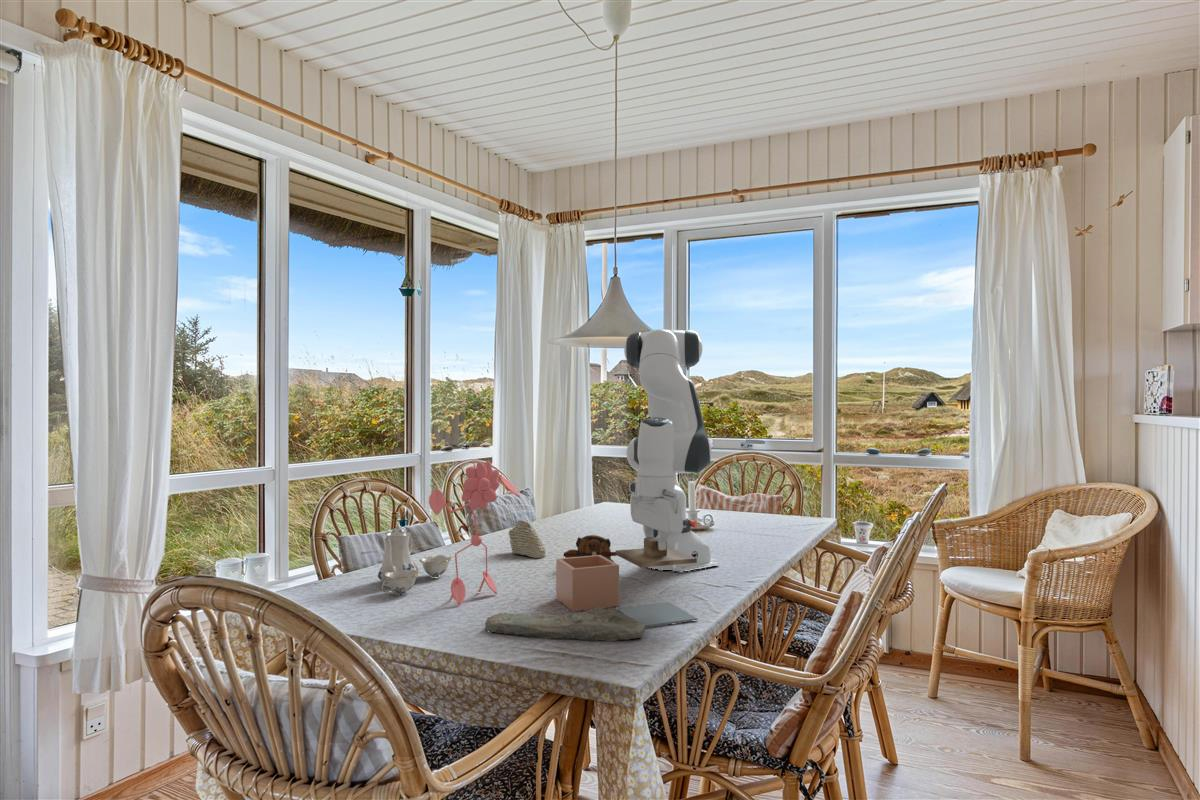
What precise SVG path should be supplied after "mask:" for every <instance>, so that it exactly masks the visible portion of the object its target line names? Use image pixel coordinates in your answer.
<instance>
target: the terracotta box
mask: <svg viewBox="0 0 1200 800" xmlns="http://www.w3.org/2000/svg"><path fill="white" fill-rule="evenodd" d="M613 561H614V560H613ZM613 561H611V560H609V559H607V558H605V557H603V556H602V555H592V556H581V557H570V558H565V557H562V558H561V557H560V558H556V559H555V562H556V565H555V566H556V567H555V569H556V570H555V571H556V574H555V577H556V579H555V581H556V585H555V592H556V593H555V596H556V597H555V599H556V598H557V600H558V601H559V602H560V603H561V602H562V603H563V604H562V605H564V606H565V607H566V606H567V607H568V608H569V609H568V608H567V607H566V608H567V609H568V610H570V611H571V612H572V611H575V612H582V611H581V610H583V611H588V610H590V609H593V608H597V607H600V606H601V607H603V606H604V607H605V609H606V608H607V607H608V608H614V607H613V606H616V607H619V606H620V565H619V564H618V563H616V562H615V561H614V562H613ZM608 608H607V609H608Z"/></svg>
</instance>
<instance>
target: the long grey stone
mask: <svg viewBox="0 0 1200 800" xmlns="http://www.w3.org/2000/svg"><path fill="white" fill-rule="evenodd" d="M484 629H485V630H486V632H487V631H489V632H495V633H494V634H503V633H504V635H513V634H514V635H513V636H521V635H523V636H522V637H526V636H531V637H533V636H538V637H537V638H542V637H551V638H550V639H554V638H556V639H557V640H559V639H558V638H561V639H564V638H566V639H570V638H571V639H574V640H575V639H577V640H582V641H596V640H597V641H604V640H609V641H608V642H617V641H618V640H621V641H623V640H627V641H628V640H632V639H639V638H640V639H641V638H642V637H643V636H644V634H645V632H646V628H645V626H644V624H643V623H642V622H640V621H637V620H635V619H634V618H630V617H629V616H627V615H625V614H622V613H619V612H617V613H616V612H615V611H614V610H613V609H610V610H608V609H606V608H605V607H604V606H603V607H601V606H600V607H597V608H593V609H591V610H585V611H584V612H583V611H578V612H576V613H574V614H568V615H562V616H561V615H558V614H557V615H556V614H552V615H551V614H524V613H508V612H504V613H497V614H493V615H492V616H488V617H487V619H486V621H485V622H484ZM489 632H488V633H489ZM556 639H555V640H556ZM585 639H586V640H585Z"/></svg>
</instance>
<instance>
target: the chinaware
mask: <svg viewBox="0 0 1200 800" xmlns="http://www.w3.org/2000/svg"><path fill="white" fill-rule="evenodd" d="M385 536H386V538H384V542H385V549H384V553H383V559H382V562H381V566H380V568H379V570H378V573H377V578H378V579H379V580H380V582H382V583H381V590H382V591H383V593H389V592H390V594H392V595H396V594H398V595H399V596H401V595H400V594H406V593H407V592H408V591H410V590H412V588H413V587H414V585H415V584H416V583H415V582H416V579H417V577H418V576H419V568H418V566H417V565H416V563H415V562H414V560H413V558H412V556H411V553H412V551H413V548H414V538H413V536H412V534H411V532H409V531H407V532H406V531H405V530H404V528H402V526H401V525H400V523H397V524H396V526H395V528H393V529H392V530H391V532H388V533H386V534H385ZM452 558H453V557H452V556H445V555H443V554H438V555H435V556H429V555H428V556H424V557H422V559H419V563H421V564H422V567H423V570H424V572H425V573H426V574H428V575H429V576H432V577H439V575H441V576H442V575H443V574H444V573H446V571H447V570H448V568H449V564H450V562H451V560H452ZM386 586H387V588H390V589H389V590H387V591H386V590H385V589H384V587H386ZM398 595H397V596H398ZM406 595H407V594H406Z"/></svg>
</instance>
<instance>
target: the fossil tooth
mask: <svg viewBox="0 0 1200 800" xmlns="http://www.w3.org/2000/svg"><path fill="white" fill-rule="evenodd" d="M508 537H509V544H510V548H511V552H512V553H513V554H515V555H523V556H527V557H530V558H534V559H544V558H545V557H546V555H547V553H546V547H545V546H544V543H543V542H542V539H541V538H540V536H539V534H538V532H537V531H536V530H535V528H534V527H533V526H532V524H531V522H529V521H528V519H525V518H520V519H518V520H517V521H516V523H515V525H514V526H512V528H510V529H509V531H508ZM543 557H544V558H543Z"/></svg>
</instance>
